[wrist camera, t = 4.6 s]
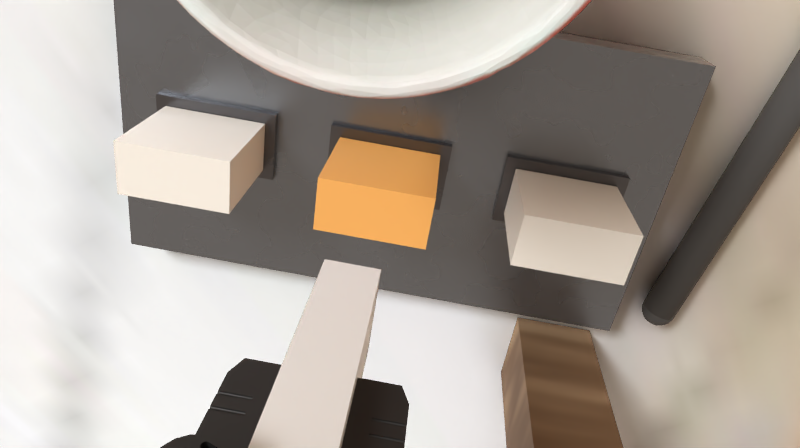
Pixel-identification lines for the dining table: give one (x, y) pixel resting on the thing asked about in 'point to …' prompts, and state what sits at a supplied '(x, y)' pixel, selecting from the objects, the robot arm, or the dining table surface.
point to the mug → (384, 39)
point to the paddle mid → (377, 193)
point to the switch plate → (426, 132)
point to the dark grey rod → (728, 198)
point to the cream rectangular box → (570, 227)
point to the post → (555, 390)
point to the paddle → (190, 159)
